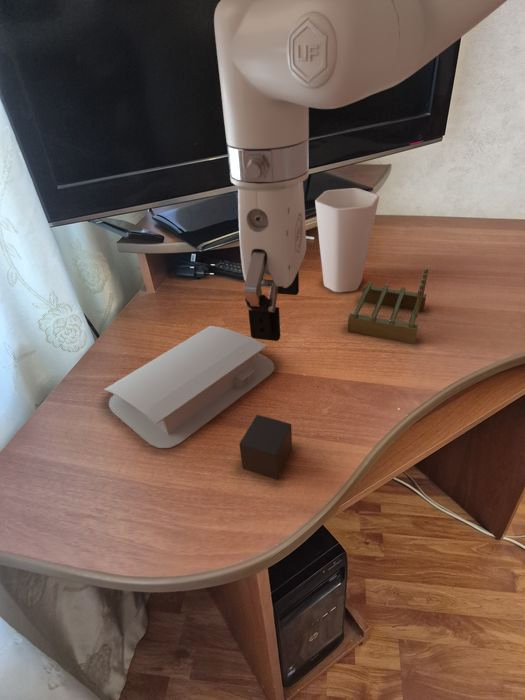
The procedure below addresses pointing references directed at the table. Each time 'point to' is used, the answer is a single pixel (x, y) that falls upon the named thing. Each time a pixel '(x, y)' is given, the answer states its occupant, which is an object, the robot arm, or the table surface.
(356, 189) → the cup
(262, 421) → the box
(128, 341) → the table surface
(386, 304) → the rack
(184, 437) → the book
